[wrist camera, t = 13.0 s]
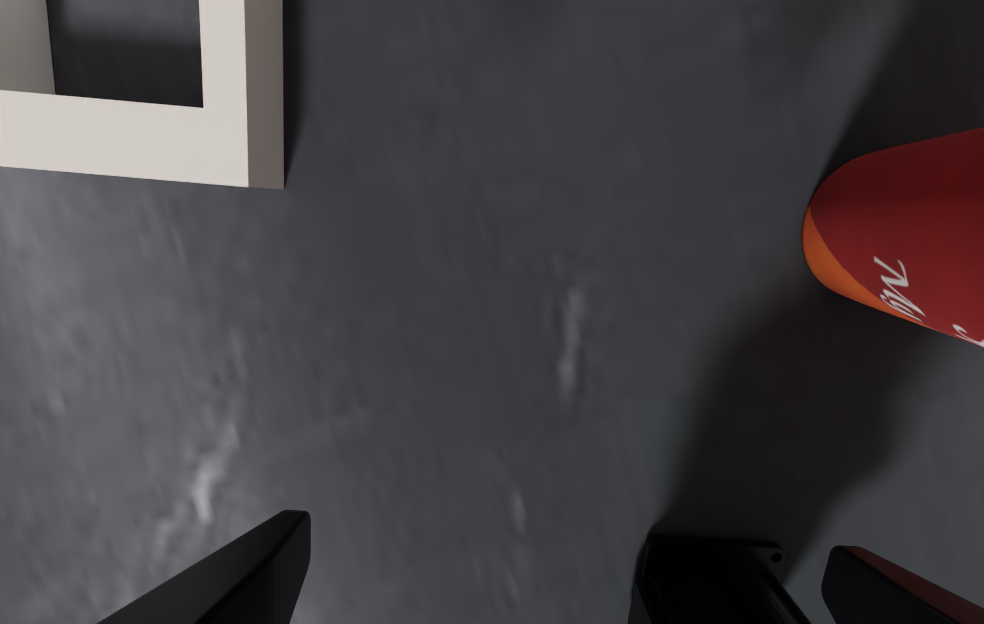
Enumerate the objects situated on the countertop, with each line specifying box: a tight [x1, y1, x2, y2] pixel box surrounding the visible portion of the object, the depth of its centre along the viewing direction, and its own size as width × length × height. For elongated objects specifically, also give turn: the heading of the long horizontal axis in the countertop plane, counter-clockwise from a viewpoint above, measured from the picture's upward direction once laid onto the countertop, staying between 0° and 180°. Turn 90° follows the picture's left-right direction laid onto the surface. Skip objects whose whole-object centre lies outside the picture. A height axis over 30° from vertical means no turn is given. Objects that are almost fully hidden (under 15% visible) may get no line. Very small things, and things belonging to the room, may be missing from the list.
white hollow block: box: [0, 0, 284, 189], centre depth 17 cm, size 10×9×3 cm
